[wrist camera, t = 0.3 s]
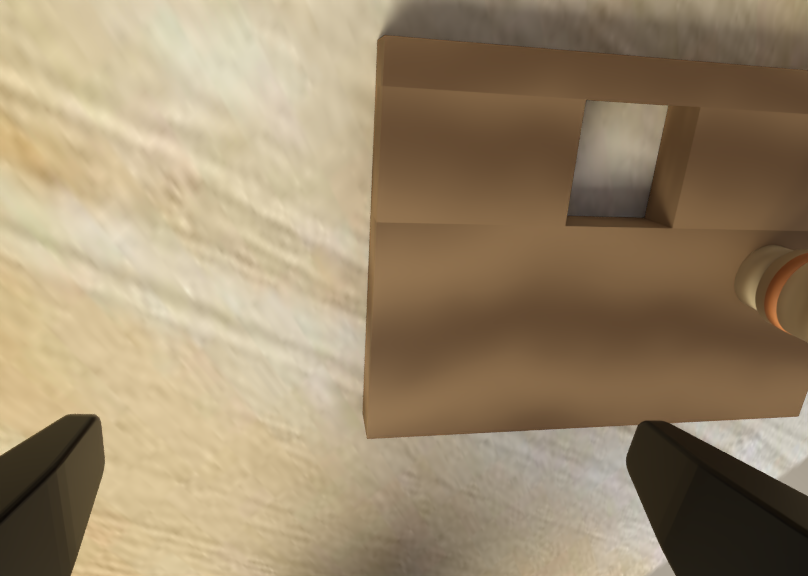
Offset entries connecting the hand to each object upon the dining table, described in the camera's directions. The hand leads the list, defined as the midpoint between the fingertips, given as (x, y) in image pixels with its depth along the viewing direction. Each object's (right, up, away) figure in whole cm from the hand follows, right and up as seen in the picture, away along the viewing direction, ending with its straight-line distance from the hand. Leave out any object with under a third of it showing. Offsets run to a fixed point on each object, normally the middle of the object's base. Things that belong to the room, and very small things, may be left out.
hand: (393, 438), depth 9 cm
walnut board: (+10, +4, +16) cm, 19 cm away
